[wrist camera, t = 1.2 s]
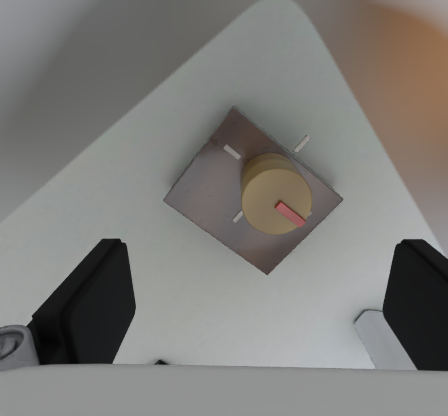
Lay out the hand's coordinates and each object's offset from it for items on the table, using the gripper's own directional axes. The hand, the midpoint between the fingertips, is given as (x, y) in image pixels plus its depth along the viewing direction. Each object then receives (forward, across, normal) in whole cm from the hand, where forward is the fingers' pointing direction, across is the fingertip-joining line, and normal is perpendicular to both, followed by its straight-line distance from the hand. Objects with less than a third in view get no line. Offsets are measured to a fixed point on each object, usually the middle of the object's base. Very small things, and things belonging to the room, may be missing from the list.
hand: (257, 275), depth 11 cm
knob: (+13, -2, 0) cm, 14 cm away
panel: (+16, 0, +2) cm, 17 cm away
